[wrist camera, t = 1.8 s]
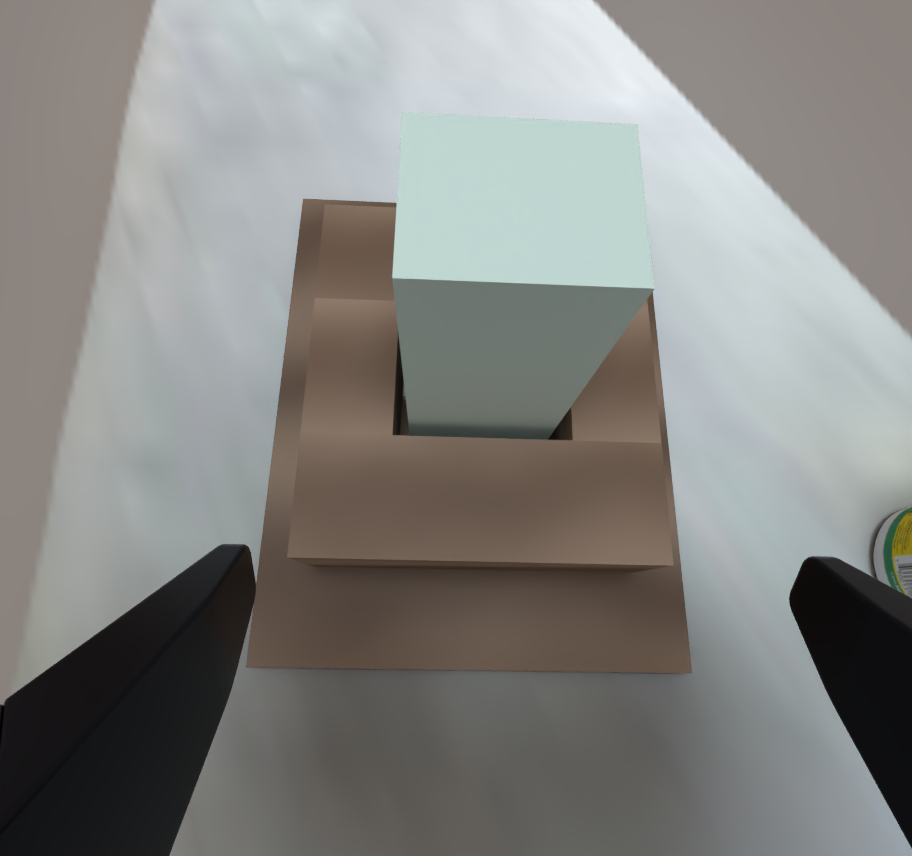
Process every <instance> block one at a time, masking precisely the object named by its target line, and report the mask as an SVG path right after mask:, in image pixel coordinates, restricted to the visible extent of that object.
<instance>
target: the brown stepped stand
mask: <svg viewBox="0 0 912 856" xmlns="http://www.w3.org/2000/svg"><path fill="white" fill-rule="evenodd" d="M396 206H397V203H385V202H363V201H341V200H319V199H303V205H302V213H301V221H300V229H299V238H298V246H297V254H296V262H295V271H294V279H293V287H292V295H291V304H290V312H289V320H288V328H287V336H286V345H285V353H284V361H283V369H282V378H281V386H280V394H279V402H278V410H277V419H276V427H275V435H274V443H273V452H272V460H271V468H270V476H269V485H268V493H267V501H266V509H265V517H264V526H263V534H262V542H261V550H260V559H259V567H258V575H257V583H256V594H255V600H254V608H253V616H252V624H251V633H250V641H249V649H248V657H247V666H246V667H259V668H333V669H407V670H481V671H555V672H629V673H692V670H691V660H690V650H689V641H688V631H687V621H686V612H685V602H684V592H683V583H682V573H681V563H680V554H679V544H678V534H677V524H676V515H675V505H674V495H673V486H672V476H671V466H670V457H669V447H668V437H667V427H666V418H665V408H664V398H663V389H662V379H661V369H660V360H659V350H658V340H657V331H656V321H655V311H654V301H653V292H652V293H651V294H650V296H649V297H648V298H647V300H646V301H645V303H644V304H643V306H642V307H641V308H640V310H639V311H638V313H637V314H636V315H635V317H634V318H633V320H632V321H631V323H630V324H629V325H628V327H627V328H626V330H625V331H624V332H623V334H622V335H621V337H620V338H619V339H618V341H617V342H616V344H615V345H614V347H613V348H612V349H611V351H610V352H609V354H608V355H607V356H606V358H605V359H604V361H603V362H602V364H601V365H600V366H599V368H598V369H597V371H596V372H595V373H594V375H593V376H592V378H591V379H590V380H589V382H588V383H587V385H586V386H585V388H584V389H583V390H582V392H581V393H580V395H579V396H578V397H577V399H576V400H575V402H574V403H573V405H572V406H571V407H570V409H569V410H568V412H567V413H566V414H565V416H564V417H563V419H562V420H561V421H560V423H559V424H558V426H557V427H556V429H555V430H554V431H553V433H552V434H551V436H550V437H549V438H548V440H539V439H505V438H471V437H437V436H410V433H409V424H408V415H407V406H406V399H403V388H404V379H403V370H402V361H401V352H400V343H399V334H398V325H397V316H396V307H395V298H394V290H393V281H392V273H393V257H394V240H395V223H396Z"/></svg>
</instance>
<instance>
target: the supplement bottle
mask: <svg viewBox="0 0 912 856" xmlns="http://www.w3.org/2000/svg"><path fill="white" fill-rule="evenodd" d="M873 557H874V566H875V571H876V576H877V579H878V580H879V581H881V582H883V583H884V584H886V585H888V586H890V587H892V588H894V589H896V590H897V591H899V592H901V593H903V594H905V595H907V596H909V597H910V598H912V506H911V507H908V508H905V509H902V510H900V511H898V512H896V513H894V514H893V515H892V516H890V517H889V518H888V519H887V520H886V521H885V522H884V524H883V526H882V527H881V529H880V531H879V533H878V536H877V538H876V542H875V547H874V555H873Z"/></svg>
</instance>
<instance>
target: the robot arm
mask: <svg viewBox="0 0 912 856" xmlns="http://www.w3.org/2000/svg"><path fill="white" fill-rule="evenodd" d="M255 594H256V582H255V576H254V570H253V563H252V557H251V552H250V549H249V547H248V546H246V545H244V544H222V545H220V546H218V547H216V548H215V549H214V550H212V551H211V552H209V553H208V554H207V555H205V556H204V557H203V558H201V559H200V560H198V561H197V562H196V563H194V564H193V565H191V566H190V567H189V568H187V569H186V570H185V571H183V572H182V573H180V574H179V575H178V576H176V577H175V578H173V579H172V580H171V581H169V582H168V583H166V584H165V585H164V586H162V587H161V588H160V589H158V590H157V591H155V592H154V593H153V594H151V595H150V596H148V597H147V598H146V599H144V600H143V601H142V602H140V603H139V604H137V605H136V606H135V607H133V608H132V609H130V610H129V611H128V612H126V613H125V614H124V615H122V616H121V617H119V618H118V619H117V620H115V621H114V622H112V623H111V624H110V625H108V626H107V627H106V628H104V629H103V630H101V631H100V632H99V633H97V634H96V635H94V636H93V637H92V638H90V639H89V640H88V641H86V642H85V643H83V644H82V645H81V646H79V647H78V648H76V649H75V650H74V651H72V652H71V653H70V654H68V655H67V656H65V657H64V658H63V659H61V660H60V661H58V662H57V663H56V664H54V665H53V666H52V667H50V668H49V669H47V670H46V671H45V672H43V673H42V674H40V675H39V676H38V677H36V678H35V679H34V680H32V681H31V682H29V683H28V684H27V685H25V686H24V687H22V688H21V689H20V690H18V691H17V692H16V693H14V694H13V695H11V696H10V697H9V698H7V699H6V700H5V702H4V705H0V856H169V855H170V852H171V849H172V847H173V844H174V841H175V839H176V836H177V833H178V831H179V828H180V825H181V823H182V820H183V818H184V815H185V812H186V810H187V807H188V804H189V802H190V799H191V796H192V794H193V791H194V788H195V786H196V783H197V781H198V778H199V775H200V773H201V770H202V767H203V765H204V762H205V759H206V757H207V754H208V751H209V749H210V746H211V743H212V741H213V738H214V736H215V733H216V730H217V728H218V725H219V722H220V720H221V717H222V714H223V712H224V709H225V706H226V704H227V701H228V698H229V695H230V692H231V689H232V685H233V682H234V678H235V675H236V671H237V667H238V663H239V659H240V655H241V651H242V647H243V643H244V639H245V635H246V631H247V628H248V624H249V620H250V616H251V612H252V608H253V604H254V600H255ZM789 601H790V607H791V610H792V613H793V615H794V617H795V620H796V622H797V624H798V627H799V629H800V631H801V634H802V636H803V638H804V641H805V643H806V645H807V647H808V650H809V652H810V654H811V657H812V659H813V661H814V664H815V666H816V668H817V671H818V673H819V675H820V678H821V680H822V682H823V684H824V687H825V689H826V691H827V693H828V695H829V697H830V699H831V701H832V703H833V705H834V707H835V709H836V711H837V713H838V715H839V717H840V718H841V720H842V722H843V724H844V726H845V727H846V729H847V731H848V733H849V735H850V737H851V738H852V740H853V742H854V744H855V746H856V748H857V749H858V751H859V753H860V755H861V757H862V759H863V760H864V762H865V764H866V766H867V768H868V769H869V771H870V773H871V775H872V777H873V779H874V780H875V782H876V784H877V786H878V788H879V790H880V791H881V793H882V795H883V797H884V799H885V801H886V802H887V804H888V806H889V808H890V810H891V811H892V813H893V815H894V817H895V819H896V821H897V822H898V824H899V826H900V828H901V830H902V832H903V833H904V835H905V837H906V839H907V841H908V843H909V844H910V846H911V848H912V598H910V597H909V596H907V595H905V594H903V593H901V592H899V591H897V590H896V589H894V588H892V587H890V586H888V585H886V584H884V583H883V582H881V581H879V580H877V579H875V578H873V577H871V576H870V575H868V574H866V573H864V572H862V571H860V570H858V569H857V568H855V567H853V566H851V565H849V564H847V563H845V562H844V561H842V560H840V559H838V558H835V557H821V556H812V557H808V558H807V559H806V560H805V561H804V562H803V564H802V566H801V568H800V571H799V573H798V575H797V578H796V580H795V582H794V585H793V587H792V589H791V592H790V597H789Z"/></svg>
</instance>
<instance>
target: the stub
mask: <svg viewBox="0 0 912 856" xmlns="http://www.w3.org/2000/svg"><path fill="white" fill-rule="evenodd" d="M392 281H393V290H394V298H395V307H396V316H397V325H398V334H399V343H400V352H401V361H402V370H403V379H404V388H403V399H406V406H407V415H408V424H409V433H410V436H437V437H471V438H505V439H539V440H548V438H549V437H550V436H551V434H552V433H553V431H554V430H555V429H556V427H557V426H558V424H559V423H560V421H561V420H562V419H563V417H564V416H565V414H566V413H567V412H568V410H569V409H570V407H571V406H572V405H573V403H574V402H575V400H576V399H577V397H578V396H579V395H580V393H581V392H582V390H583V389H584V388H585V386H586V385H587V383H588V382H589V380H590V379H591V378H592V376H593V375H594V373H595V372H596V371H597V369H598V368H599V366H600V365H601V364H602V362H603V361H604V359H605V358H606V356H607V355H608V354H609V352H610V351H611V349H612V348H613V347H614V345H615V344H616V342H617V341H618V339H619V338H620V337H621V335H622V334H623V332H624V331H625V330H626V328H627V327H628V325H629V324H630V323H631V321H632V320H633V318H634V317H635V315H636V314H637V313H638V311H639V310H640V308H641V307H642V306H643V304H644V303H645V301H646V300H647V298H648V297H649V296H650V294H651V293H652V291H653V290H654V279H653V270H652V260H651V251H650V241H649V232H648V222H647V212H646V203H645V193H644V184H643V174H642V165H641V155H640V145H639V136H638V126H637V124H622V123H603V122H583V121H564V120H545V119H525V118H506V117H487V116H467V115H448V114H429V113H409V112H402V122H401V139H400V156H399V173H398V189H397V206H396V223H395V240H394V257H393V273H392Z"/></svg>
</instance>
